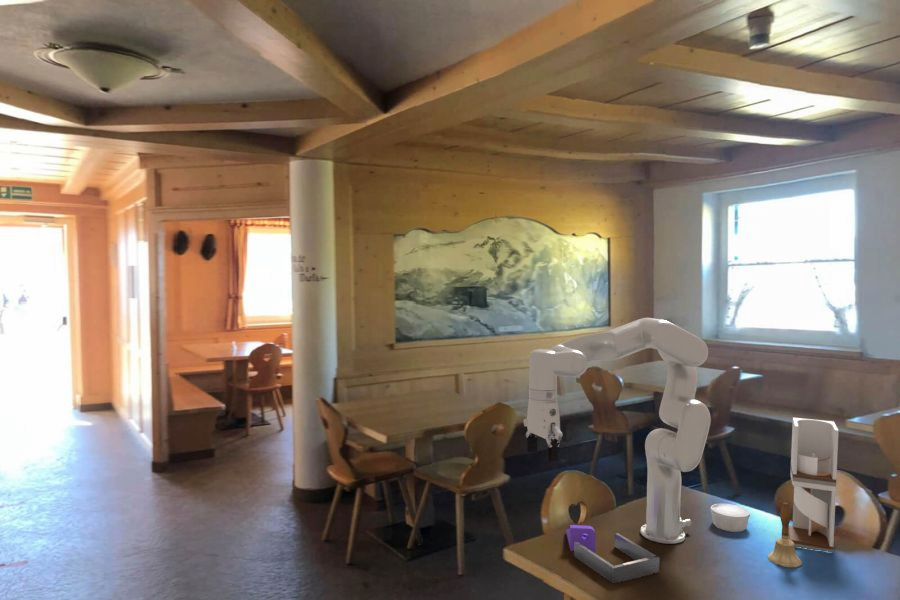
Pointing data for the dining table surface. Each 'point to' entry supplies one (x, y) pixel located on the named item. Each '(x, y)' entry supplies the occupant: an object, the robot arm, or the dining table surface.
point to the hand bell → (785, 543)
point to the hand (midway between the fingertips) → (541, 456)
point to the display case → (813, 483)
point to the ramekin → (730, 517)
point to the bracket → (581, 536)
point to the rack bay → (626, 571)
